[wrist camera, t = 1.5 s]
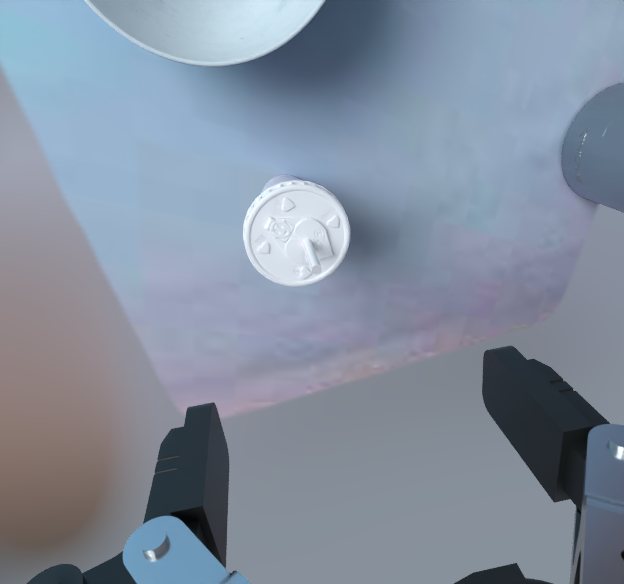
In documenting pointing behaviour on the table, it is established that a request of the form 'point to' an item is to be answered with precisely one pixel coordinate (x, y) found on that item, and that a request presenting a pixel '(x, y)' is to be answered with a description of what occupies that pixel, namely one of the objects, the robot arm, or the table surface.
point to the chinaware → (208, 26)
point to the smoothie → (296, 232)
